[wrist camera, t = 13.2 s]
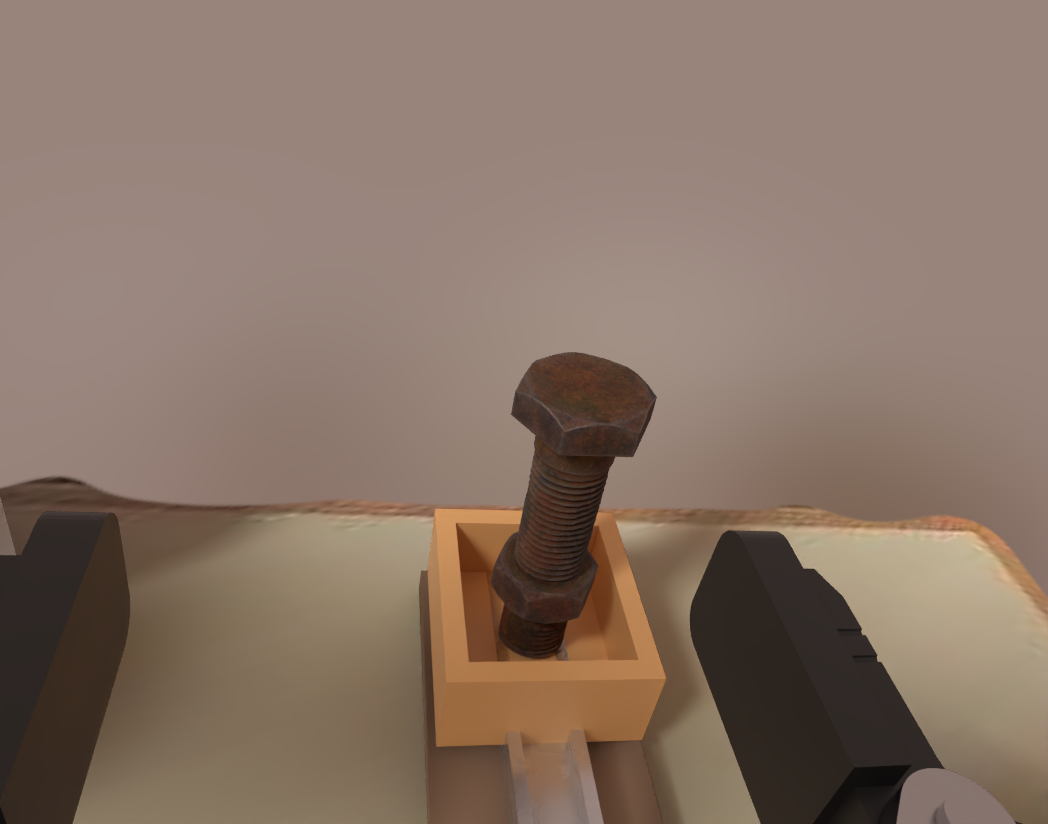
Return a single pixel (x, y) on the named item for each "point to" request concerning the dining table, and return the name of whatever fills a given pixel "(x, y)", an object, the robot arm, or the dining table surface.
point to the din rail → (548, 775)
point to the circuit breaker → (5, 534)
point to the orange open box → (538, 683)
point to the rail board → (477, 774)
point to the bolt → (564, 490)
